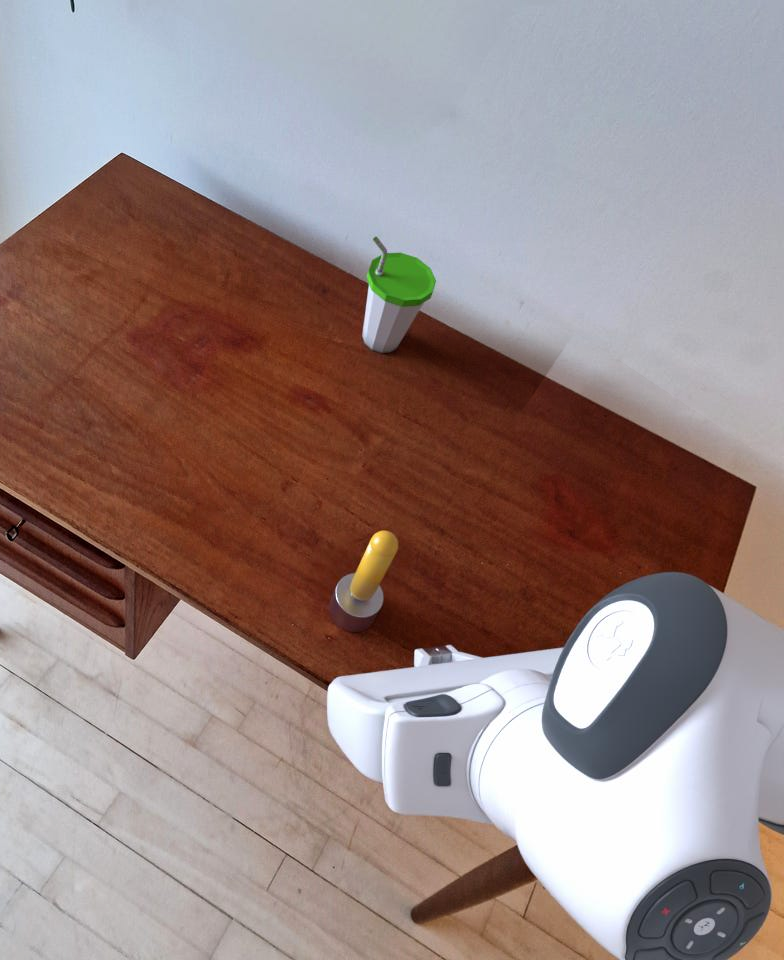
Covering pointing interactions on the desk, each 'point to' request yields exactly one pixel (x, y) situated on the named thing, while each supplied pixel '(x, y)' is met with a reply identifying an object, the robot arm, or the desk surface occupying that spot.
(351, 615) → the yellow lever knob
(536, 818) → the robot arm
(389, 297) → the cup
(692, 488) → the desk surface
